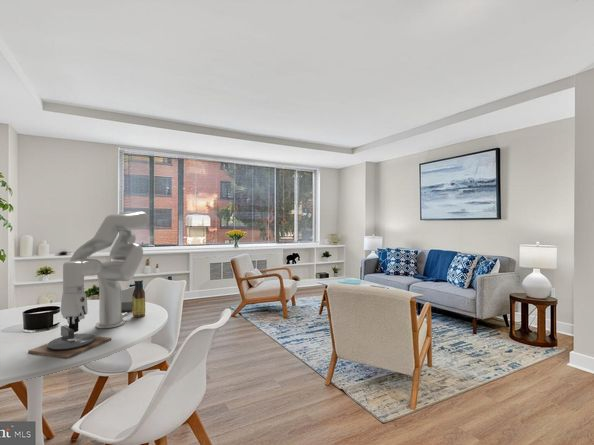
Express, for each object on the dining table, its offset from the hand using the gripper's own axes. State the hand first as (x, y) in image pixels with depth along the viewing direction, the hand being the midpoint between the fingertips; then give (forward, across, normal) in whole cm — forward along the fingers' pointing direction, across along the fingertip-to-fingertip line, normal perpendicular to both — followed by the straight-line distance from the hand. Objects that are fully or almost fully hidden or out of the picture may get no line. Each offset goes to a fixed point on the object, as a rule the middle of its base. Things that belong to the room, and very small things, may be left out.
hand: (73, 332), depth 142 cm
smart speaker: (+4, +14, -47) cm, 49 cm away
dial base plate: (+4, -6, +5) cm, 9 cm away
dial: (+2, -5, +5) cm, 7 cm away
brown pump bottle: (+4, -1, -38) cm, 38 cm away
